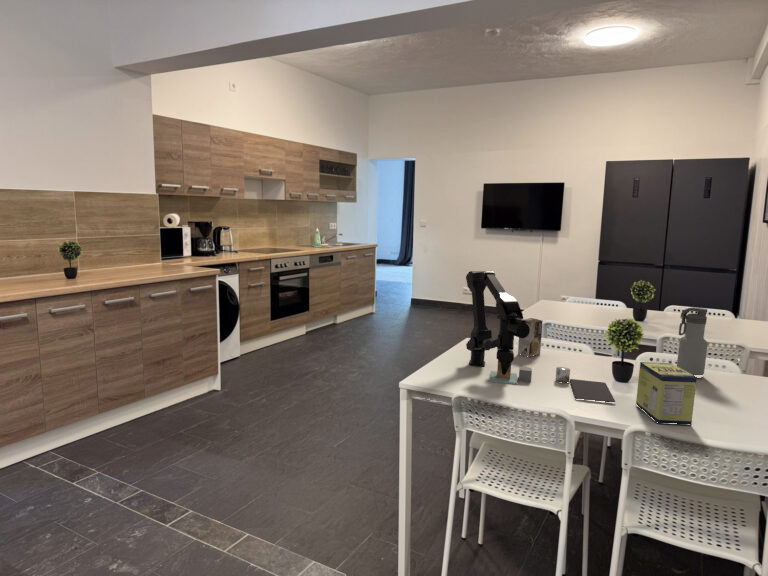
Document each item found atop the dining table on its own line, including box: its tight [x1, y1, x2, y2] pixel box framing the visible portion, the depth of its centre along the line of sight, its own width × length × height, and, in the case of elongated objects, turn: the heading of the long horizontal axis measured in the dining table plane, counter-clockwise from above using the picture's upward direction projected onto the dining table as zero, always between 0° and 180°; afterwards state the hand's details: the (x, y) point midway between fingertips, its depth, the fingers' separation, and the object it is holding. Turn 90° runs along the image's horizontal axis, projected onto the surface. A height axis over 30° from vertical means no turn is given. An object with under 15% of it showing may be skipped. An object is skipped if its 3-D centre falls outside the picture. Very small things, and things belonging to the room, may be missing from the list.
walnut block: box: [496, 359, 512, 379], centre depth 194 cm, size 5×5×6 cm
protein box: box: [635, 361, 698, 425], centre depth 161 cm, size 10×16×16 cm
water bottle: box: [676, 306, 709, 375], centre depth 204 cm, size 10×10×28 cm
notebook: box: [569, 378, 616, 403], centre depth 182 cm, size 13×2×21 cm
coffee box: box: [517, 317, 543, 358], centre depth 229 cm, size 9×6×16 cm
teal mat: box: [489, 370, 518, 385], centre depth 195 cm, size 12×10×1 cm
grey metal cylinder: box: [554, 366, 571, 384], centre depth 193 cm, size 5×5×5 cm
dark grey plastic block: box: [518, 366, 533, 383], centre depth 193 cm, size 4×4×4 cm
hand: (503, 371), depth 194 cm, fingers open, 7 cm apart
